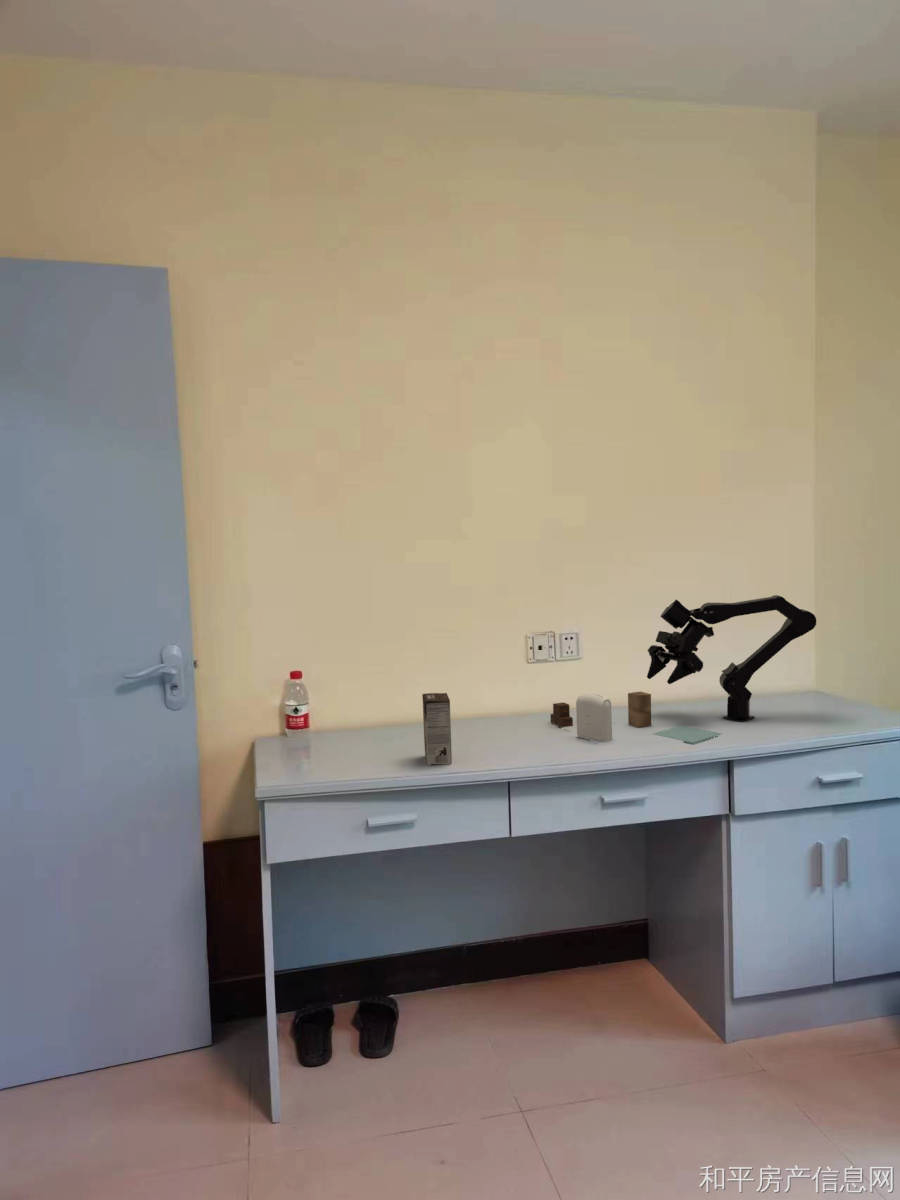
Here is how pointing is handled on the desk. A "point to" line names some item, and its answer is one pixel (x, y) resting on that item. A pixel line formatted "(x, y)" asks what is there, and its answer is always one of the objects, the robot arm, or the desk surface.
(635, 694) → the walnut block
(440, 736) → the coffee box
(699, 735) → the teal pad
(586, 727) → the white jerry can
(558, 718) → the stack of crates
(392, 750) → the desk surface
